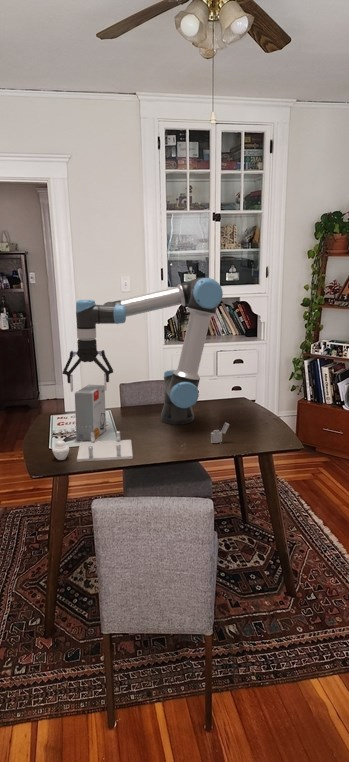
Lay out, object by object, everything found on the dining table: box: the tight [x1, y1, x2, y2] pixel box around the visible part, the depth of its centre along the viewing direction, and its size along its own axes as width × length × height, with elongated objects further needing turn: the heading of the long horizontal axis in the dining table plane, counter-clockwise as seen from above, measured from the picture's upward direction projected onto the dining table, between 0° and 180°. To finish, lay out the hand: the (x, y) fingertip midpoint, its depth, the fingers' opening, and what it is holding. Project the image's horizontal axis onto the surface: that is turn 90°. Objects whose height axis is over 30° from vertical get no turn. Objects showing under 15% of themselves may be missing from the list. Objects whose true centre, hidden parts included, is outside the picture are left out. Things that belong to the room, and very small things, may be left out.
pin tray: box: [76, 430, 134, 463], centre depth 185 cm, size 20×18×5 cm
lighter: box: [210, 422, 230, 444], centre depth 193 cm, size 7×2×8 cm, turn 103°
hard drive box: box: [74, 384, 107, 442], centre depth 202 cm, size 16×8×20 cm, turn 168°
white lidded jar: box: [52, 440, 70, 461], centre depth 179 cm, size 6×6×7 cm
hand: (88, 390), depth 200 cm, fingers open, 13 cm apart
